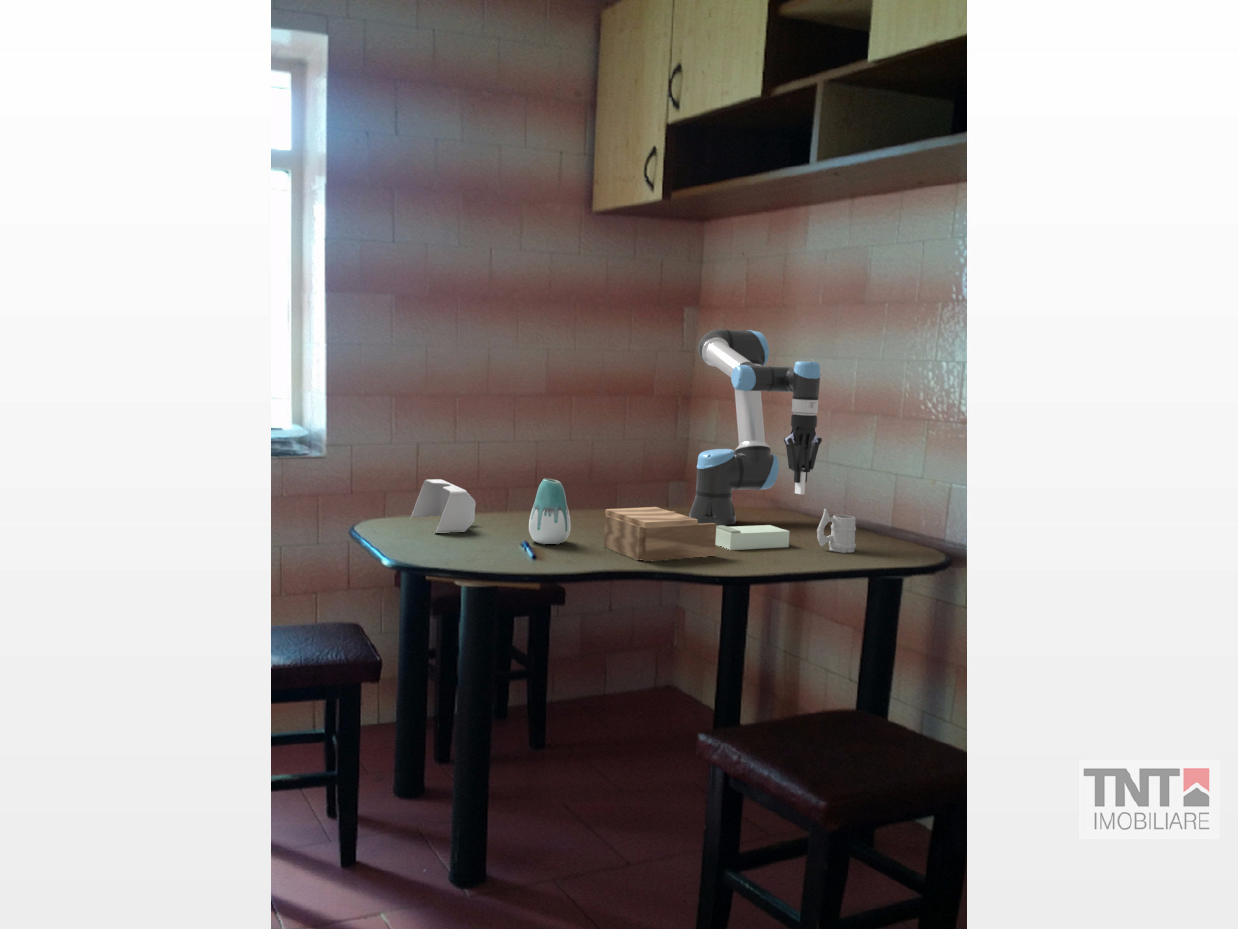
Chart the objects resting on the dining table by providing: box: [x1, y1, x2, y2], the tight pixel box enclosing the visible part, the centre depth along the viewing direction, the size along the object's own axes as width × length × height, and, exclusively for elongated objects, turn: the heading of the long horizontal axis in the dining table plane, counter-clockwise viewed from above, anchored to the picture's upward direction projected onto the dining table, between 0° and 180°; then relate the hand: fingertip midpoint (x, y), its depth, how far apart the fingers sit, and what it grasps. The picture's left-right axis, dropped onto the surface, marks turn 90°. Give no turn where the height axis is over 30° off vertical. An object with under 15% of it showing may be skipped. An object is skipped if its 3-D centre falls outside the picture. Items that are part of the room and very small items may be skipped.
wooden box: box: [603, 506, 718, 562], centre depth 289 cm, size 21×24×10 cm
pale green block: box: [715, 524, 790, 551], centre depth 305 cm, size 10×20×6 cm, turn 116°
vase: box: [528, 478, 571, 545], centre depth 294 cm, size 12×12×18 cm
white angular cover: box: [410, 478, 477, 532], centre depth 313 cm, size 25×16×12 cm, turn 28°
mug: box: [816, 508, 857, 554], centre depth 303 cm, size 8×12×12 cm, turn 103°
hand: (799, 493), depth 312 cm, fingers closed
